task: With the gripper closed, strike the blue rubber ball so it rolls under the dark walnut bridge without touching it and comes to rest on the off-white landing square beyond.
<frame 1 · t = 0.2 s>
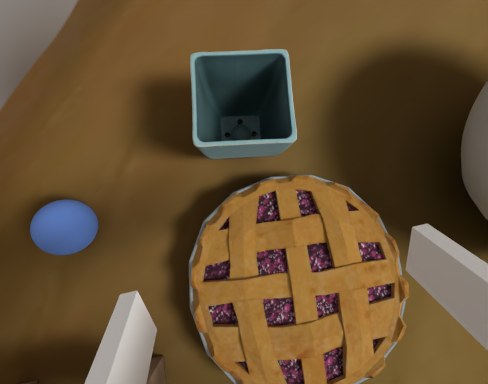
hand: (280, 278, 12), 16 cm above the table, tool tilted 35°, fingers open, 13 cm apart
pie: (290, 275, 28), on the table
ball: (66, 226, 25), on the table
flower pot: (240, 136, 30), on the table
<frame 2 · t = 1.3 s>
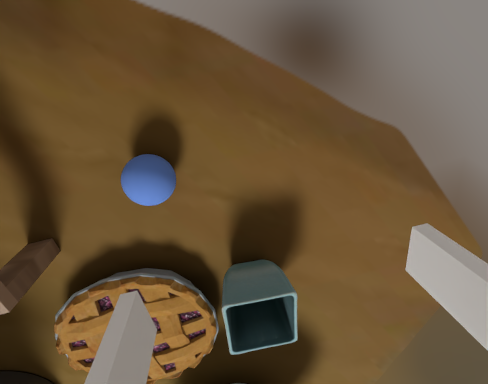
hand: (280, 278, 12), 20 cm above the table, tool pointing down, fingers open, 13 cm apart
pie: (146, 313, 38), on the table
ball: (149, 179, 27), on the table
flower pot: (249, 272, 38), on the table
bridge: (14, 204, 28), on the table
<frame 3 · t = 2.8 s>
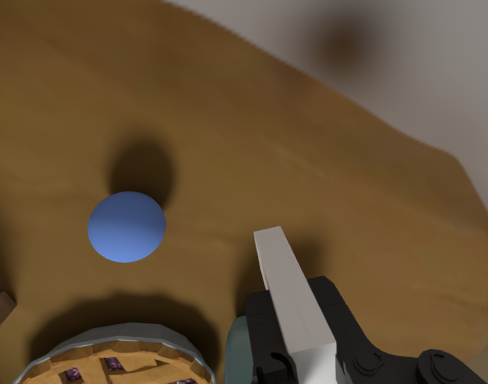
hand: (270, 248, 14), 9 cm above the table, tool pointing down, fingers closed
pie: (130, 370, 31), on the table
ball: (129, 226, 19), on the table
flower pot: (256, 324, 31), on the table
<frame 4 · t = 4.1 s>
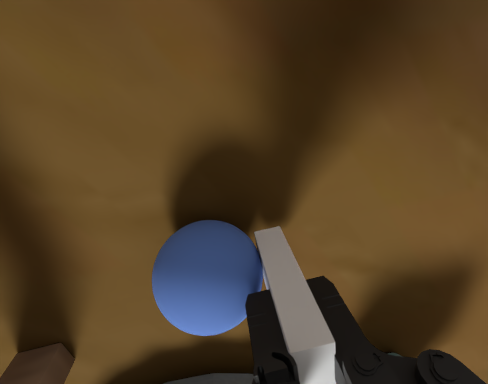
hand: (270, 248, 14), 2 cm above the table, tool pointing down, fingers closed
ball: (209, 273, 13), on the table, touching gripper
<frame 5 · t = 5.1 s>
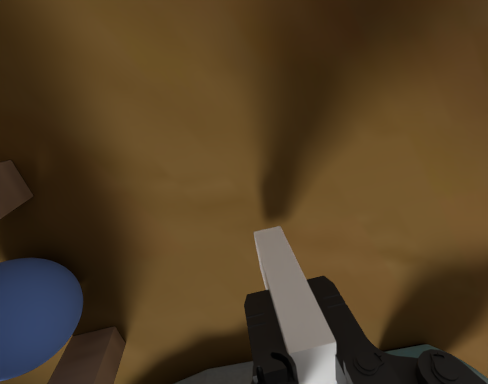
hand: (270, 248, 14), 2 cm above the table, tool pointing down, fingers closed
ball: (18, 314, 12), on the table
flower pot: (396, 359, 25), on the table
bridge: (55, 276, 15), on the table
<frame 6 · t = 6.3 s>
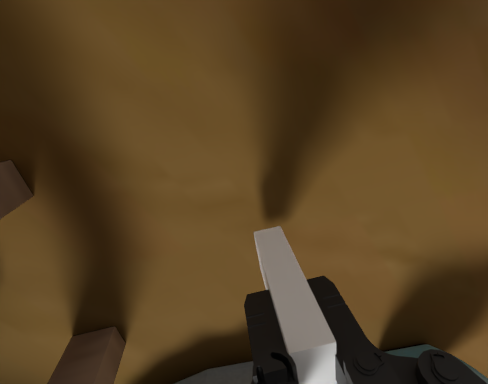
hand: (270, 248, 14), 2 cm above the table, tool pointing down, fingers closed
flower pot: (396, 359, 25), on the table
bridge: (55, 276, 15), on the table
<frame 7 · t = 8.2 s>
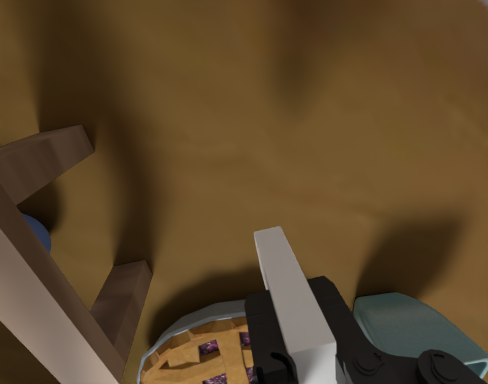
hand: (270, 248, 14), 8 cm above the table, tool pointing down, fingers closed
pie: (236, 348, 31), on the table
ball: (2, 249, 18), on the table
flower pot: (371, 306, 30), on the table
bridge: (104, 215, 20), on the table
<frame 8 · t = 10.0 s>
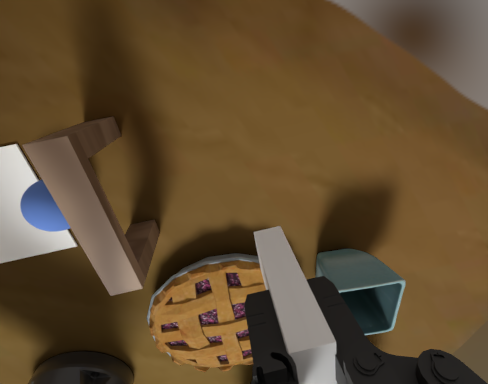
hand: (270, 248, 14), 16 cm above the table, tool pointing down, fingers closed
pie: (225, 299, 38), on the table
ball: (56, 204, 25), on the table
flower pot: (331, 261, 38), on the table
bridge: (126, 183, 28), on the table
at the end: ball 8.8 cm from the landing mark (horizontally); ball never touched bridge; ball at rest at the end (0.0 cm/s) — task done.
